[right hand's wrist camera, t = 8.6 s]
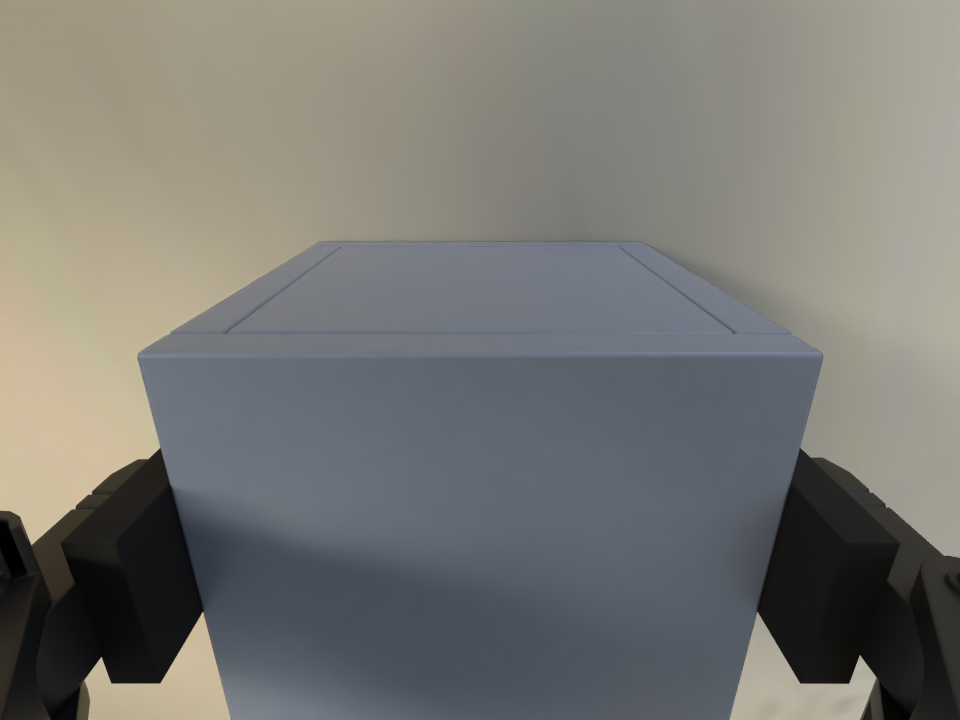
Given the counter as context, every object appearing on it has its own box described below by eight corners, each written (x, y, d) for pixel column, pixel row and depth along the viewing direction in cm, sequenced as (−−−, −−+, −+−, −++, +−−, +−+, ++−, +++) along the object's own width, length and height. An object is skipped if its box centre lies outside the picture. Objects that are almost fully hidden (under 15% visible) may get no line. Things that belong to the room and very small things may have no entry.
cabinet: (594, 660, 23) (664, 975, 14) (365, 660, 23) (295, 975, 14) (641, 241, 16) (828, 352, 8) (318, 241, 16) (132, 352, 8)
